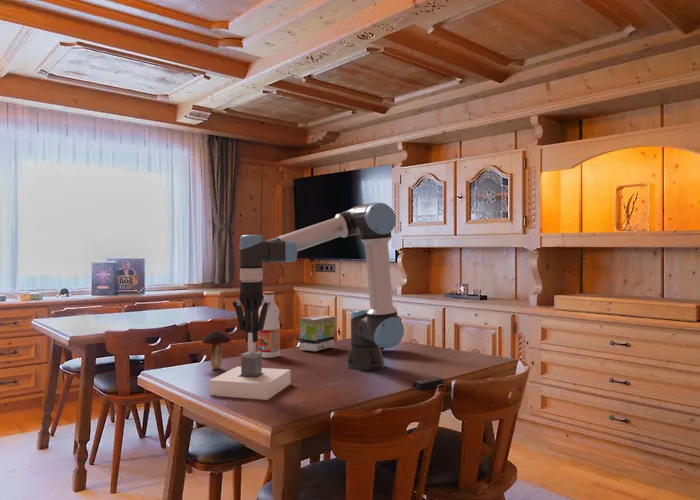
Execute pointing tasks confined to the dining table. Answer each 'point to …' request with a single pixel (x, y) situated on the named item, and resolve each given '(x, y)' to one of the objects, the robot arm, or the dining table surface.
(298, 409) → the dining table surface
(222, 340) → the decorative mushroom
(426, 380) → the multiport hub
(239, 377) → the socket
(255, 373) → the plug
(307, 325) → the tea box
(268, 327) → the fruit juice
